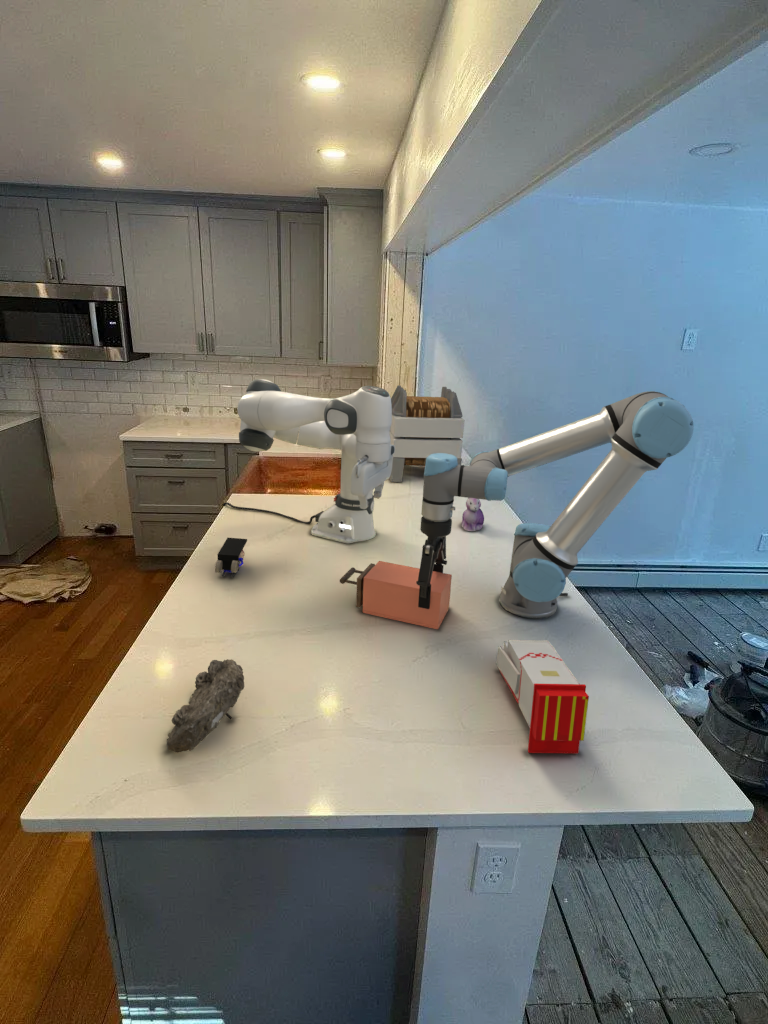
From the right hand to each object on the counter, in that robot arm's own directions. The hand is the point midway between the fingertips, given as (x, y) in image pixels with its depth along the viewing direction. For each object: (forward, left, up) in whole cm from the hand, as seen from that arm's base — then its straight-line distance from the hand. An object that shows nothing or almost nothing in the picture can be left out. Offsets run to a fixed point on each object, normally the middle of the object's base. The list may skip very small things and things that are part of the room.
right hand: (430, 597), depth 145 cm
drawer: (+10, -6, -5) cm, 12 cm away
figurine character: (+52, -32, -5) cm, 61 cm away
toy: (-13, +37, -5) cm, 39 cm away
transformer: (-28, -133, -5) cm, 136 cm away
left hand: (+14, -15, +21) cm, 29 cm away
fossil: (+51, +33, -5) cm, 61 cm away
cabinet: (+5, -3, -5) cm, 8 cm away
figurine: (-32, -61, -5) cm, 69 cm away
